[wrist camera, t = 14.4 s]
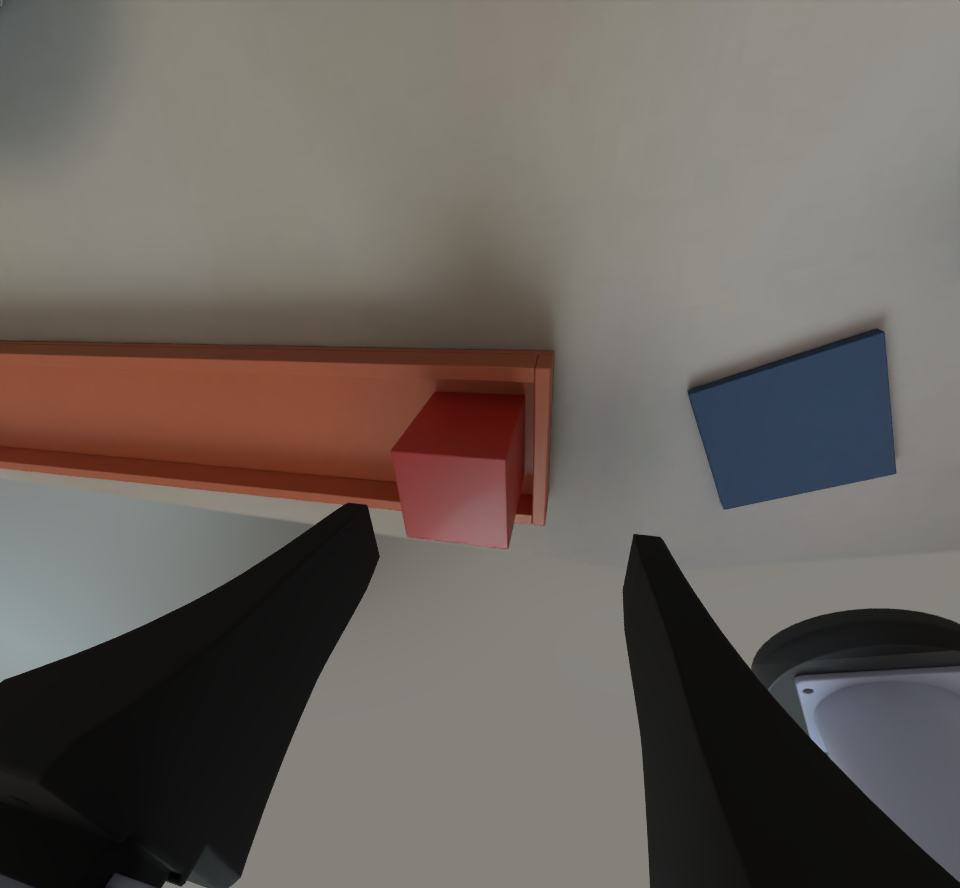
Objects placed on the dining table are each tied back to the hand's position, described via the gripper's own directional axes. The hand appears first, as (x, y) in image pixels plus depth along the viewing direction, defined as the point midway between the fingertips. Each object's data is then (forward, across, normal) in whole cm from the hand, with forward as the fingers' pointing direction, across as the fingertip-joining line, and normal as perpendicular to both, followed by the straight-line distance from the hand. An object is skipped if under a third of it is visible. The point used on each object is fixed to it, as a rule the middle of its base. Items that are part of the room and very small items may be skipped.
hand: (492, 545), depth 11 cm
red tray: (+8, +20, +1) cm, 21 cm away
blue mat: (+8, -10, 0) cm, 13 cm away
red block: (+8, +2, +1) cm, 8 cm away
